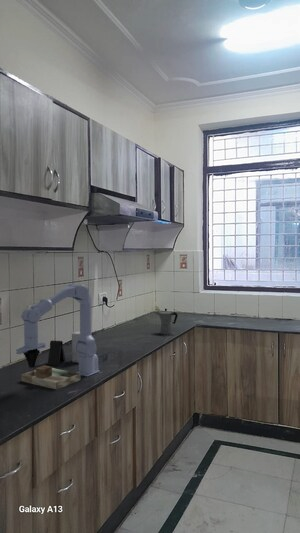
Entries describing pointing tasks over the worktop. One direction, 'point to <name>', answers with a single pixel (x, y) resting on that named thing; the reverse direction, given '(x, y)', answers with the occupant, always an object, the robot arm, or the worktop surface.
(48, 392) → the worktop surface
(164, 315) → the coffeepot
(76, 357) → the skincare box
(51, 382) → the trap board
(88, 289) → the robot arm
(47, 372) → the walnut block
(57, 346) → the phone stand
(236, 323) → the worktop surface
